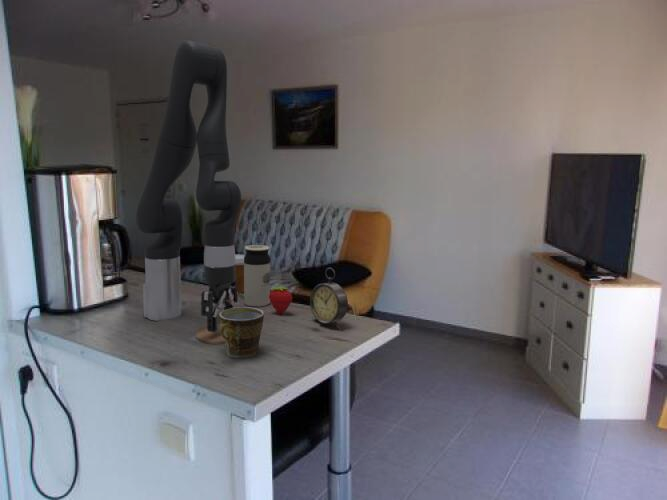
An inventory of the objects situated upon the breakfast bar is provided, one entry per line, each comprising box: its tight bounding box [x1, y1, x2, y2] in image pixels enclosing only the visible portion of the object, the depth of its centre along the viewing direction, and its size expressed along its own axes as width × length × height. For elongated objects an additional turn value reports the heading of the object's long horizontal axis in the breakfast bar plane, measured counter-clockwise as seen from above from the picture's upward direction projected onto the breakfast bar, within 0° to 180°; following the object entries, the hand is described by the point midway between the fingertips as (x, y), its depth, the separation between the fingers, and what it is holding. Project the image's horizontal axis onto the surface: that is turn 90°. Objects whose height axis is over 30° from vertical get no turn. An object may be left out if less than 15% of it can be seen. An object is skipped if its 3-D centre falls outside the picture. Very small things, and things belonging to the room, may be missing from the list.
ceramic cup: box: [220, 306, 265, 359], centre depth 115 cm, size 13×10×10 cm
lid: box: [195, 309, 225, 345], centre depth 127 cm, size 12×12×6 cm
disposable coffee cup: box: [235, 253, 246, 294], centre depth 171 cm, size 10×10×12 cm
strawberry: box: [269, 281, 293, 316], centre depth 147 cm, size 6×8×10 cm
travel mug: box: [243, 244, 271, 308], centre depth 156 cm, size 8×8×18 cm
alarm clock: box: [309, 267, 349, 330], centre depth 138 cm, size 11×5×16 cm, turn 47°
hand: (220, 325), depth 127 cm, fingers open, 8 cm apart
